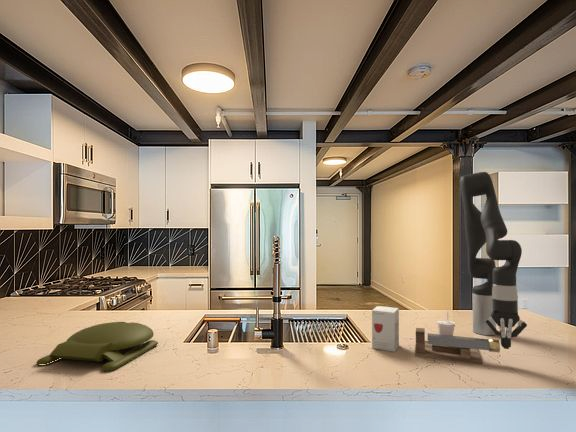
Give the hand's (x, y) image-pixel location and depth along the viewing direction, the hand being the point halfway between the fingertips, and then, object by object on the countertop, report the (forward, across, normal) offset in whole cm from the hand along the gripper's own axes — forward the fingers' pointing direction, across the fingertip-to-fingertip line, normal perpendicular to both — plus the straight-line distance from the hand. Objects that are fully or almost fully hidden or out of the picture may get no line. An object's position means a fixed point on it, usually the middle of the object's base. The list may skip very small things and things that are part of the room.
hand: (505, 348), depth 123 cm
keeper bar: (+2, +14, 0) cm, 14 cm away
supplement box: (+6, +41, -4) cm, 41 cm away
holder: (+6, +19, -6) cm, 20 cm away
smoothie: (+5, +19, -8) cm, 21 cm away
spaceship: (+6, +139, +40) cm, 145 cm away
